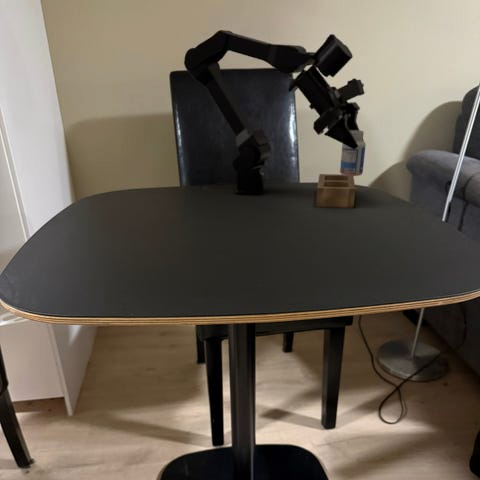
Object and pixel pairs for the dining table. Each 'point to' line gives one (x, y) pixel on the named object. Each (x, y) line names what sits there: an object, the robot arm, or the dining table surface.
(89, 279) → the dining table surface
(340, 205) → the holder
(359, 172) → the pill bottle
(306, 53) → the robot arm
